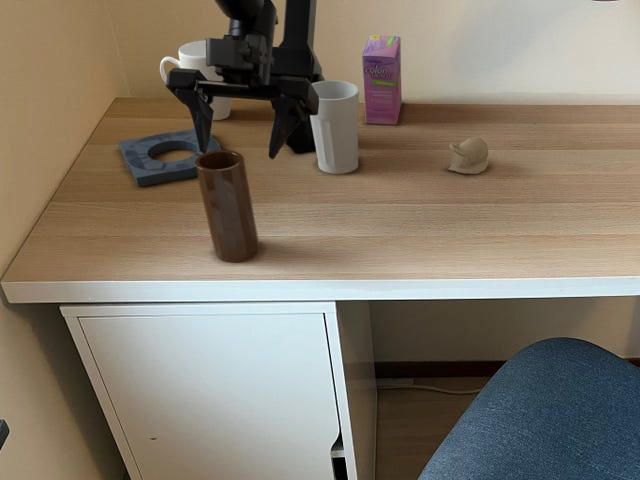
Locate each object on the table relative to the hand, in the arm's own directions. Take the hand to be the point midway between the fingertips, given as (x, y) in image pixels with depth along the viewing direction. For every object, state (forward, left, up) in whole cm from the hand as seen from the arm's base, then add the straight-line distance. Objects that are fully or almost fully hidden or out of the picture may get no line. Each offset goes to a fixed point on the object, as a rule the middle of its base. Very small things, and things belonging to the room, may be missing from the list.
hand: (236, 155), depth 102 cm
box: (-34, -30, -11) cm, 46 cm away
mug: (-5, -42, -11) cm, 43 cm away
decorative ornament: (-37, -4, -11) cm, 39 cm away
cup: (-19, -14, -11) cm, 26 cm away
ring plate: (+4, -27, -11) cm, 29 cm away
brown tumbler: (+3, +4, -11) cm, 12 cm away
